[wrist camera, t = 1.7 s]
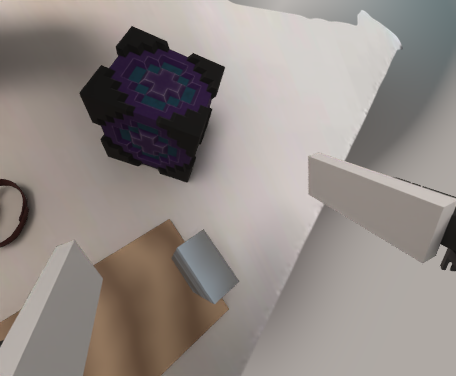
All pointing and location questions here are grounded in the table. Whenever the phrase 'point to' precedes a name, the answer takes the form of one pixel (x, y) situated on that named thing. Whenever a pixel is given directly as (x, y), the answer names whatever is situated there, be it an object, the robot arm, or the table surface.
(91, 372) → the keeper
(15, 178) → the table surface
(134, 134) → the energy cube
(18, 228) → the watch
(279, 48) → the table surface
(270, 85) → the table surface
